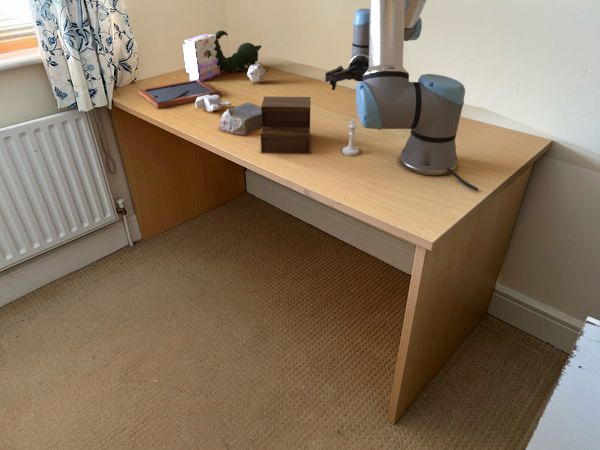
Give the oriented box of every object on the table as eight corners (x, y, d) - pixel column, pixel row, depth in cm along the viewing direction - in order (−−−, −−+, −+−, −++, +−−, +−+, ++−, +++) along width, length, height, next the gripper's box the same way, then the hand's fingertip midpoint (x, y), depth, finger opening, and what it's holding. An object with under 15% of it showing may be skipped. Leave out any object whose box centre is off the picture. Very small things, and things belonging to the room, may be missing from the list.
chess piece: (354, 157, 124) (357, 123, 118) (339, 153, 126) (341, 120, 120) (362, 150, 127) (365, 118, 121) (347, 147, 129) (349, 114, 124)
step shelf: (309, 153, 125) (310, 113, 119) (261, 152, 126) (259, 112, 119) (309, 134, 137) (310, 97, 130) (265, 133, 137) (264, 96, 130)
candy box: (210, 72, 194) (206, 33, 185) (221, 74, 192) (216, 34, 182) (189, 80, 184) (183, 39, 175) (199, 82, 182) (194, 41, 172)
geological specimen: (273, 108, 142) (241, 119, 131) (272, 126, 145) (241, 138, 135) (249, 101, 147) (216, 111, 137) (249, 118, 150) (217, 129, 140)
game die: (261, 92, 183) (266, 77, 174) (241, 85, 181) (246, 69, 173) (266, 76, 187) (271, 60, 178) (247, 69, 185) (251, 53, 176)
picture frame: (157, 108, 156) (220, 95, 168) (156, 103, 155) (219, 90, 167) (139, 94, 169) (198, 83, 181) (138, 88, 168) (197, 78, 180)
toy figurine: (222, 81, 189) (269, 66, 201) (214, 35, 178) (264, 22, 189) (212, 76, 196) (258, 62, 207) (203, 31, 184) (252, 19, 195)
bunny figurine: (210, 91, 160) (233, 96, 150) (213, 104, 162) (235, 110, 152) (188, 96, 155) (210, 102, 145) (190, 110, 157) (212, 117, 147)
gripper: (397, 80, 143) (398, 102, 126) (322, 76, 146) (313, 97, 129) (400, 56, 139) (402, 75, 122) (323, 53, 142) (314, 71, 125)
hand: (356, 86), depth 125 cm, fingers open, 13 cm apart
